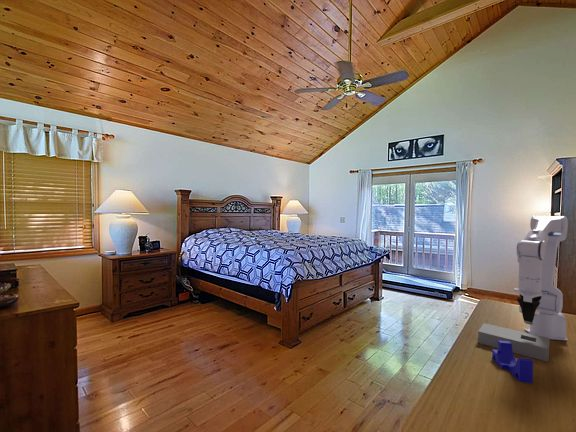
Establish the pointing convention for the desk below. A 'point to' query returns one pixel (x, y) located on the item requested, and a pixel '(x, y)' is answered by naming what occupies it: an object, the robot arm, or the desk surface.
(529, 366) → the cable clip
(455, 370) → the desk surface
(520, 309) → the headed pin
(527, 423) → the desk surface
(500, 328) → the grey flat block
